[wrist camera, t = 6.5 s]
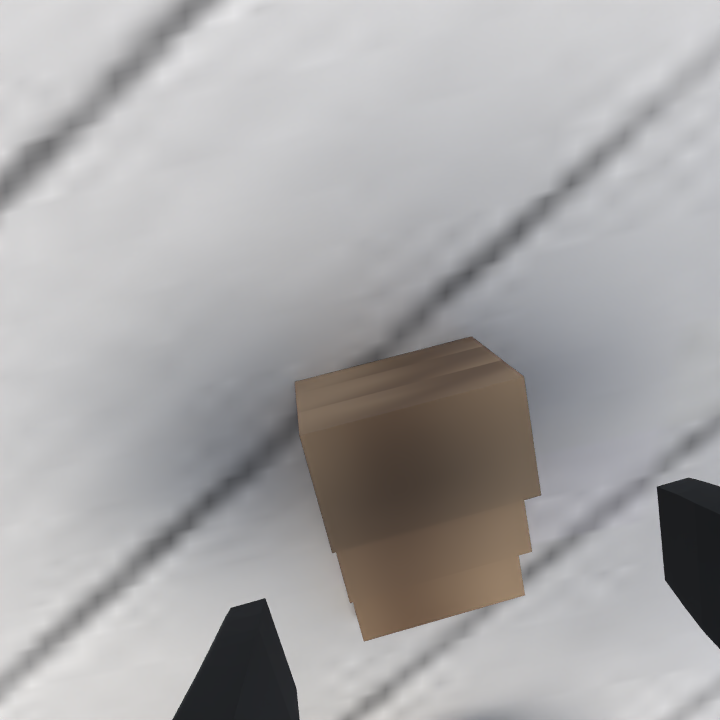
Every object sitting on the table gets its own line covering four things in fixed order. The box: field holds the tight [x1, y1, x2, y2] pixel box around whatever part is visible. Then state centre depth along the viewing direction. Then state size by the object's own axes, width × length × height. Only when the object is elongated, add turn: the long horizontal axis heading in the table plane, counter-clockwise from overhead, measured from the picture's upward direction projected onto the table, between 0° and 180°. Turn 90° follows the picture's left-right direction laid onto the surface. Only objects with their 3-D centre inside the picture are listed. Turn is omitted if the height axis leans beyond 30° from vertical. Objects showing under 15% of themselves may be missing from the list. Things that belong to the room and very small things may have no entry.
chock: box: [295, 337, 541, 641], centre depth 16 cm, size 5×8×4 cm, turn 13°
